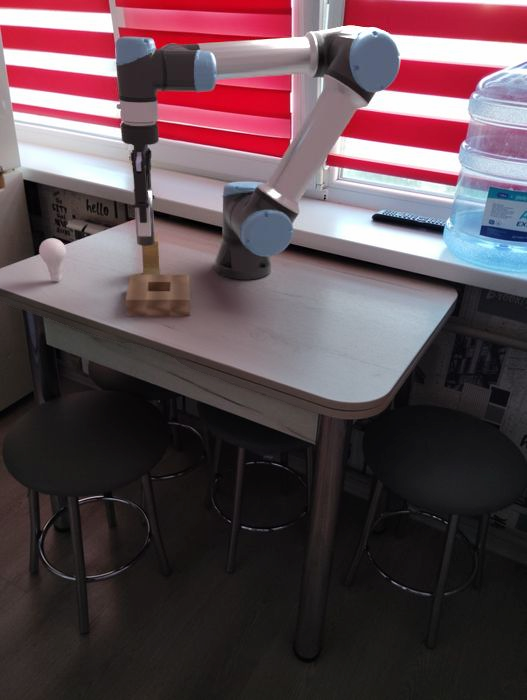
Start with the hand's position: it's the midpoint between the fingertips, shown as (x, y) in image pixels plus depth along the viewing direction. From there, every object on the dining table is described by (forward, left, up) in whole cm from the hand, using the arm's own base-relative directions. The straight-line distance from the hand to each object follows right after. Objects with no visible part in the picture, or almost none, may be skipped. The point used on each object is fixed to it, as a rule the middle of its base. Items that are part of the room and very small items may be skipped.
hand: (145, 231), depth 133 cm
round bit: (0, 0, -3) cm, 3 cm away
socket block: (-3, +2, -16) cm, 17 cm away
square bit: (0, -13, -16) cm, 21 cm away
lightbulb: (+23, -9, -17) cm, 30 cm away
